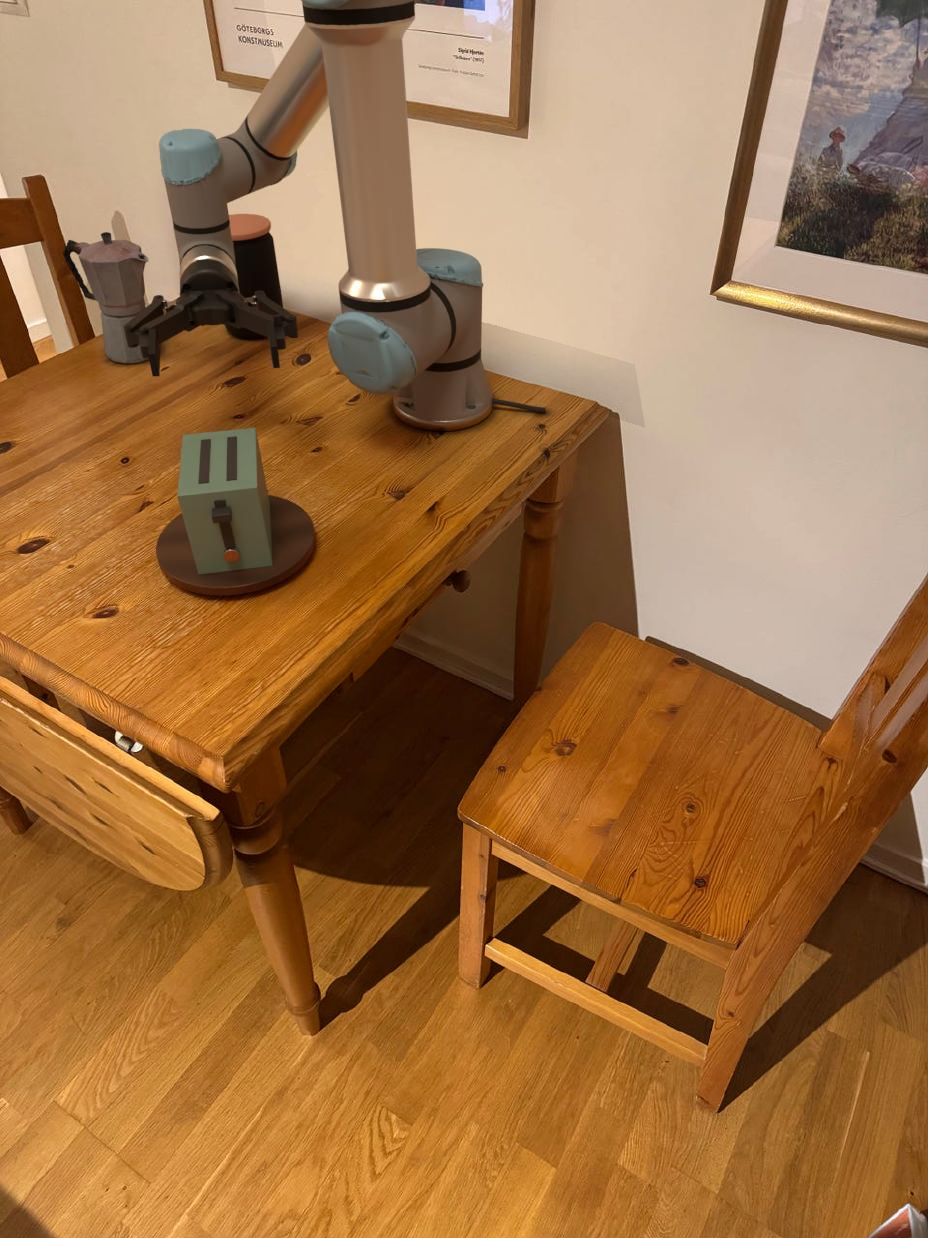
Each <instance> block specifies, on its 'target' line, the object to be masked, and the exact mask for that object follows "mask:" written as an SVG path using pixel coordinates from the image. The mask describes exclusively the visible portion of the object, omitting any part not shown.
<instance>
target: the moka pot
mask: <svg viewBox="0 0 928 1238" xmlns="http://www.w3.org/2000/svg"><path fill="white" fill-rule="evenodd" d="M100 237H101V239H102V240H100V241H96V242H93V243H90V244H89V243H88V242H84V241H81V242H77V241H75V240H72V239H68V240H67V242H66V245H65V246H64V250H62V256H63V258H64V261H65V263H66V264H67V266H68V269H69V270H70V272H71V273H72V275H73V277H74V278H75V280H76V282H77V284H78V286H79V288H80V290H81V292H82V293H83V296H84V298H86V299H88V300H92V301H96V302H97V303H98V306H99V310H100V311H101V312H100V320H101V329H102V336H103V347H104V354H105V356H106V357H107V358H108V359H109V360H111V361H113V362H115V363H121V364H139V363H143V362H147V361H149V358H143V357H142V355H141V351H140V346H137V347H135V348H130V347H128V345H127V341H126V336H125V332H124V327H123V326H124V325H125V324H127V323H128V322H129V321H130V320H131V319H133V318H134V317H135V316H136V315H137V314H139V313H140V312H141V311H142V310H144V309H145V308H146V307H147V306H146V301H145V294H146V287H145V277H144V274H145V273H144V272H145V267H146V264H147V263H148V262H149V258H148V256H147V255H145V254H144V253H143V252H142V248H141V245H139V244H137V243H134V242H133V241H129V240H127V239H112V233H111V232H108V231H105V232H101V233H100ZM72 253H75V254H76V255H78V259H79V262H80V264H81V267H82V269H83V272H84V275H85V278H86V280H87V282H88V285H89V287H90V290H91V291H89V288H88V287H87V286H86V284H85V283H84V280H83V277H82V275H81V274H80V273H79V269H78V268H77V266H76V263H75V262H74V260H73V258H72V256H71V254H72ZM159 348H160V349H161V346H160V345H159Z"/></svg>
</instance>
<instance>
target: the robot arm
mask: <svg viewBox="0 0 928 1238" xmlns="http://www.w3.org/2000/svg"><path fill="white" fill-rule="evenodd" d="M300 1H301V5H302V13H303V20H304V21H303V22H304V24H303V26H302V28H301V30H300V31H299V32H298V34H297V35H296V37H295V39H294V41H293V42H292V43H291V45H290V47H289V49H287V51H286V53H285V55H284V56H283V58H282V59H281V61H280V63H279V64H278V66H277V67H276V69H275V70H274V73H273V74H272V75H271V77H270V79H269V80H268V82H267V83H266V85H265V86H264V88H263V90H262V91H261V92H260V95H259V96H258V98H257V99H256V100H255V102H254V104H253V105H252V107H251V109H250V110H249V112H248V113H247V115H246V117H245V118H244V120H243V121H242V122H241V124H240V126H239V127H238V128H237V129H236V130H235V131H234V132H232V133H230V134H227V135H225V136H221V137H219V138H216V137H217V136H215V134H213V133H212V132H211V131H208V130H205V129H201V128H182V129H176V130H171V131H167V132H166V133H164V134H163V135H162V136H161V137H160V139H159V142H158V150H159V160H160V166H161V169H160V171H161V176H162V178H163V181H164V186H165V190H166V191H165V192H166V196H167V200H168V206H169V208H170V210H169V211H170V215H171V219H172V227H173V234H174V238H175V243H176V248H177V253H178V261H179V293H180V295H179V297H177V298H176V300H175V301H174V300H173V301H172V300H171V301H168V300H167V299H165V298H164V297H165V296H164V295H162V294H158V295H154V296H153V297H152V301H151V303H150V304H148V305H147V306H145V307H146V308H145V309H144V310H142V311H141V312H140V313H139V314H137V315H136V316H135V317H134V318H133V319H131V320H130V321H129V322H128V323H127V324H125V325H124V326H123V327H124V332H125V336H126V341H127V345H128V347H130V348H135V347H137V346H140V351H141V355H142V357H143V358H149V360H148V361H149V365H150V370H151V375H152V377H160V376H161V375H160V373H161V371H160V370H161V368H160V367H161V347H160V348H159V346H160V345H162V344H163V343H165V342H166V341H168V340H170V339H172V338H175V336H177V335H179V334H180V333H182V332H184V331H186V332H189V333H190V332H191V331H193V330H195V329H197V328H198V327H204V326H220V325H224V326H225V325H226V324H228V325H230V326H233V327H235V328H237V329H240V328H242V327H244V328H246V329H248V330H251V331H253V332H256V333H258V334H260V335H263V336H265V337H268V338H267V340H268V345H269V351H270V357H271V362H272V368H273V369H280V368H281V365H280V356H279V350H286V348H287V340H286V337H288V338H290V339H296V338H298V337H299V332H298V331H299V329H298V320H297V316H296V315H294V314H293V313H292V312H290V311H288V309H286V308H285V307H283V308H282V307H281V306H279V305H278V304H276V303H275V302H273V301H272V300H270V299H269V298H267V297H266V295H265V293H264V291H261V290H258V291H255V295H253V296H252V297H251V298H244V297H243V296H242V295H241V294H240V291H239V285H238V277H237V271H236V265H235V250H234V244H233V241H232V235H231V229H230V220H229V215H230V214H229V208H228V204H229V203H231V202H234V201H236V200H238V199H241V198H244V197H246V196H248V195H250V194H253V193H255V192H257V191H260V190H262V189H264V188H267V187H269V186H270V187H271V186H273V185H277V184H279V183H281V181H282V180H284V179H286V178H287V177H289V176H290V175H291V174H292V173H293V172H294V171H295V169H296V166H297V158H298V150H299V148H300V147H301V145H302V144H303V143H304V141H305V140H306V138H307V137H308V136H309V134H310V133H311V132H312V131H313V129H314V127H315V126H316V125H317V123H318V122H319V121H320V119H321V118H322V116H323V115H324V114H325V112H326V111H327V109H329V116H330V123H331V132H332V141H333V142H332V143H333V150H334V157H335V158H334V159H335V166H336V175H337V183H338V191H339V200H340V209H341V216H342V217H341V218H342V225H343V234H344V242H345V250H346V259H347V267H348V269H347V271H346V272H345V273H344V275H343V276H342V277H341V278H340V279H339V281H338V294H339V302H340V303H339V304H340V311H341V313H340V314H338V315H337V316H336V317H335V319H334V320H333V321H332V324H331V325H330V326H329V328H328V333H327V347H328V351H329V354H330V357H331V359H332V362H333V364H334V365H335V366H336V368H337V369H338V372H340V373H341V375H343V376H344V377H346V379H348V382H349V383H351V384H352V385H353V386H354V387H356V388H358V389H359V390H361V391H363V392H365V393H368V394H371V395H376V396H387V395H392V394H393V396H392V399H393V410H394V413H395V415H396V417H398V418H399V420H401V421H402V422H403V423H405V424H407V425H409V426H412V427H415V428H418V429H421V430H427V431H434V432H435V431H436V432H446V431H447V432H448V431H449V432H451V431H456V430H457V431H458V430H463V429H467V428H470V427H472V426H473V427H474V426H475V425H477V424H480V423H481V422H482V421H484V420H486V419H487V418H488V417H489V415H490V414H491V413H492V410H493V405H498V406H504V407H510V408H515V409H521V410H524V411H530V412H534V413H544V414H545V413H546V411H547V408H546V407H541V406H535V405H529V404H525V403H519V402H515V401H510V400H504V399H498V398H493V397H494V396H493V392H492V391H493V390H492V387H491V385H490V381H489V379H488V376H487V372H486V370H485V366H484V363H483V360H482V335H483V334H482V331H483V329H482V328H483V327H482V326H483V324H482V322H483V288H484V282H483V275H482V265H481V263H480V261H479V260H478V259H477V258H476V257H475V256H473V255H472V254H469V253H467V252H463V251H461V250H454V249H449V248H440V247H439V248H438V247H436V248H435V247H426V248H425V247H423V248H417V239H416V225H415V211H414V210H415V209H414V195H413V180H412V179H413V178H412V165H411V149H410V148H411V147H410V137H409V136H410V134H409V121H408V120H409V119H408V107H407V106H408V105H407V92H406V91H407V90H406V76H405V60H404V46H403V45H404V44H403V43H404V42H403V39H404V35H405V33H406V32H407V31H408V29H409V28H410V27H411V25H412V24H413V22H414V21H415V20H416V10H415V9H416V7H415V6H416V4H417V2H418V1H419V0H300Z"/></svg>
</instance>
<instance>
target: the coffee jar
mask: <svg viewBox="0 0 928 1238" xmlns="http://www.w3.org/2000/svg"><path fill="white" fill-rule="evenodd" d="M229 220H230V229H231V235H232V241H233V244H234V250H235V265H236V271H237V277H238V285H239V291H240V294H241V295H242V296H243V297H244V298H251V297H252V296H253V295H255V291H258V290H261V291H264V293H265V295H266V297H267V298H269V299H270V300H272V301H273V302H275V303H276V304H278V305H279V306H281V307H282V308H284V302H283V295H282V289H281V282H280V275H279V267H278V261H277V254H276V248H275V247H276V246H275V242H274V241H275V240H274V237H273V235H272V234H271V232H270V231H271V229H272V222H271V220H270V219H269V218H268V217H266V216H264V215H259V214H255V213H254V214H253V213H235V214H229ZM224 327H225V329H226V331H227V332H228V333H230V335H231V337H234V338H236V339H239V340H244V341H259V340H260V341H261V340H266V339H268V337H265V336H263V335H260V334H258V333H256V332H253V331H251V330H248V329H246V328H244V327H242V328H240V329H237V328H235V327H233V326H230V325H228V324H226V325H224Z"/></svg>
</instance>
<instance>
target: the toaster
mask: <svg viewBox="0 0 928 1238" xmlns="http://www.w3.org/2000/svg"><path fill="white" fill-rule="evenodd" d="M262 459H263V458H262V455H261V449H260V444H259V438H258V433H257V428H256V427H249V428H247V427H246V428H237V429H227V430H217V431H208V432H198V433H197V432H196V433H195V432H194V433H187V434H182V440H181V450H180V459H179V460H180V461H179V473H178V484H177V495H176V497H177V501H178V504H179V507H180V511H181V513H179V514H178V515H176V516H175V517H174V518H172V519H171V520H170V521H169V522H168V523H167V524H166V526H165V527H164V528H163V530H162V531H161V532H160V534H159V536H158V538H157V540H156V546H155V556H156V559H157V563H158V566H159V568H160V570H161V572H162V573H163V575H164V576H165V577H166V579H168V580H169V581H170V582H171V583H173V584H174V585H176V586H178V587H179V588H182V589H184V590H187V591H189V592H192V593H196V594H201V595H206V596H207V595H208V596H209V595H210V596H235V595H243V594H248V593H249V594H250V593H253V592H257V591H260V590H264V589H266V588H269V587H272V586H274V585H276V584H278V583H281V582H283V581H285V580H286V579H288V578H289V577H291V576H293V574H295V573H296V572H298V570H300V569H301V568H302V567H303V566H304V565H305V564H306V562H307V561H308V560H309V558H310V557H311V555H312V553H313V551H314V549H315V545H316V532H315V525H314V522H313V520H312V518H311V516H310V515H309V514H308V512H307V511H306V510H304V508H302V507H301V506H300V505H298V504H297V503H295V502H293V501H291V500H289V499H286V498H284V497H280V496H276V495H273V494H269V491H268V486H267V481H266V475H265V470H264V464H263V460H262Z"/></svg>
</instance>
